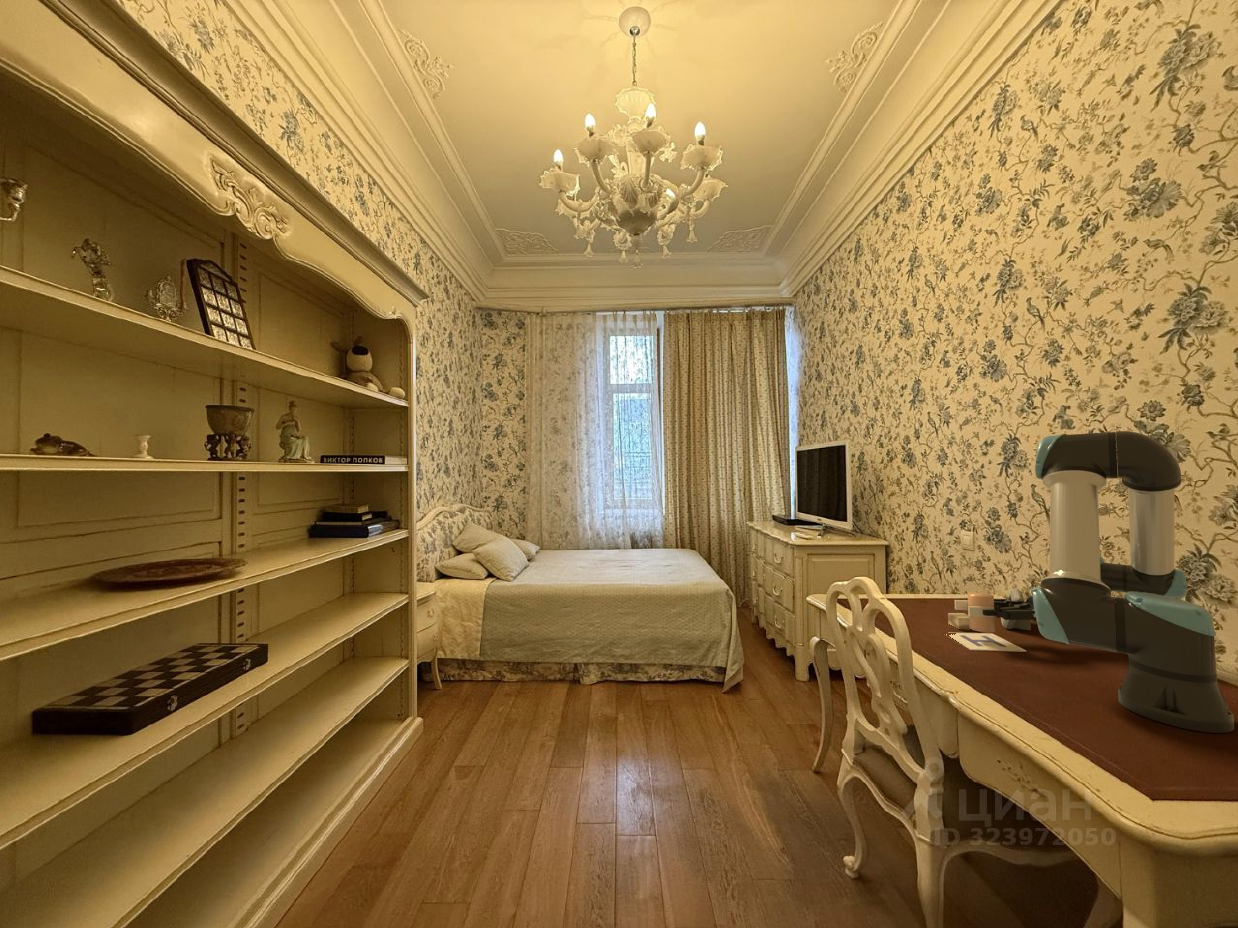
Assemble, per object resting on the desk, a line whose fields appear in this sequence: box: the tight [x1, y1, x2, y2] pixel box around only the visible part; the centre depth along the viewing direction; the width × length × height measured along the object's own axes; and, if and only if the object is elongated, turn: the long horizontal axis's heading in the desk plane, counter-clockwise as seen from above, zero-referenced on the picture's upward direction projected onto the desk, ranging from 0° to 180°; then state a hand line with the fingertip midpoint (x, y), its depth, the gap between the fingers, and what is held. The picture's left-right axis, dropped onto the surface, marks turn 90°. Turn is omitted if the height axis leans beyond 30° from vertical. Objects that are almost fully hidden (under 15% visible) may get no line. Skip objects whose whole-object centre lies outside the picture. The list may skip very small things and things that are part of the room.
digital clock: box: [1000, 587, 1032, 631], centre depth 151 cm, size 16×9×11 cm, turn 131°
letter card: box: [945, 632, 1027, 653], centre depth 136 cm, size 14×14×1 cm
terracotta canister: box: [967, 591, 996, 633], centre depth 136 cm, size 6×6×10 cm
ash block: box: [947, 612, 970, 629], centre depth 149 cm, size 5×5×4 cm
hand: (962, 608), depth 137 cm, fingers closed on terracotta canister, 6 cm apart
